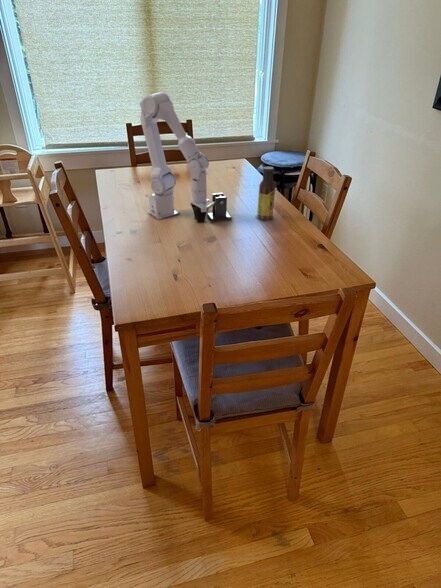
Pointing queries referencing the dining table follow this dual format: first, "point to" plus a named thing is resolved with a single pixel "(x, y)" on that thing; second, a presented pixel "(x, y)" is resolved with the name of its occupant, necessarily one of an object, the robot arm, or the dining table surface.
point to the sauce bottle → (266, 195)
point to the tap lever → (213, 203)
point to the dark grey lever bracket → (219, 208)
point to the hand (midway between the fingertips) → (199, 222)
